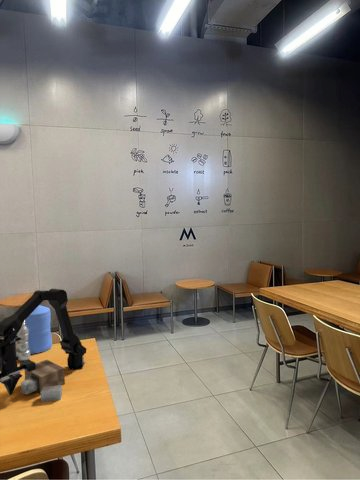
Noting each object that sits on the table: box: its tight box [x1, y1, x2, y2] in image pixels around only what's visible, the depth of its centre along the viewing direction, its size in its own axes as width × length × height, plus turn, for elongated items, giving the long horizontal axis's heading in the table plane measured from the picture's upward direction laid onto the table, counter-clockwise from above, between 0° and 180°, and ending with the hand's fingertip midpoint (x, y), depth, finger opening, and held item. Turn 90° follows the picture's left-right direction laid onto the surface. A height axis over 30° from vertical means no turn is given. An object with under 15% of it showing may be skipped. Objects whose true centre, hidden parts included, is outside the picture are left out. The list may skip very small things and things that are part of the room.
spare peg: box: [40, 385, 63, 403], centre depth 129 cm, size 7×4×4 cm, turn 101°
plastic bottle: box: [16, 321, 32, 362], centre depth 164 cm, size 6×7×20 cm
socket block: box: [24, 359, 66, 394], centre depth 140 cm, size 10×14×7 cm
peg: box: [20, 377, 39, 396], centre depth 134 cm, size 7×4×4 cm, turn 141°
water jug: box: [25, 304, 53, 355], centre depth 178 cm, size 16×16×28 cm
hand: (10, 394), depth 127 cm, fingers closed
